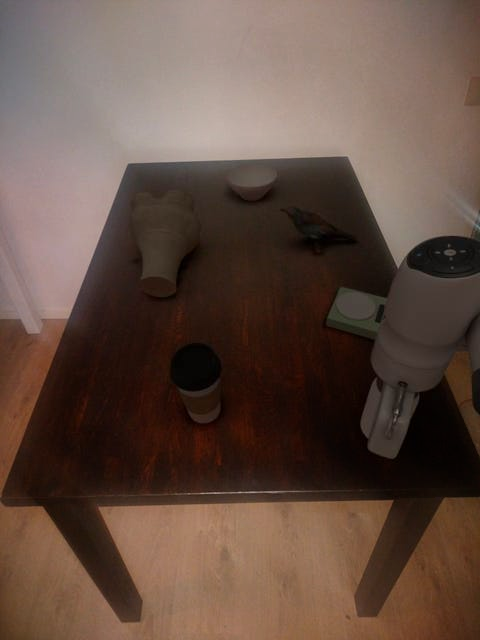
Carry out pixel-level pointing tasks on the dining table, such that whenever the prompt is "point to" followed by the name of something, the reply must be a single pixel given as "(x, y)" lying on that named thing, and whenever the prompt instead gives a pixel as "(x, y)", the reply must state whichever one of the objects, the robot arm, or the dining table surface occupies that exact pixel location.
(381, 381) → the can
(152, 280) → the vase
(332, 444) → the dining table surface
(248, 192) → the bowl
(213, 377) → the coffee cup
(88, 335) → the dining table surface
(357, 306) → the scale
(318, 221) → the bird figurine
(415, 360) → the robot arm
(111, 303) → the dining table surface
